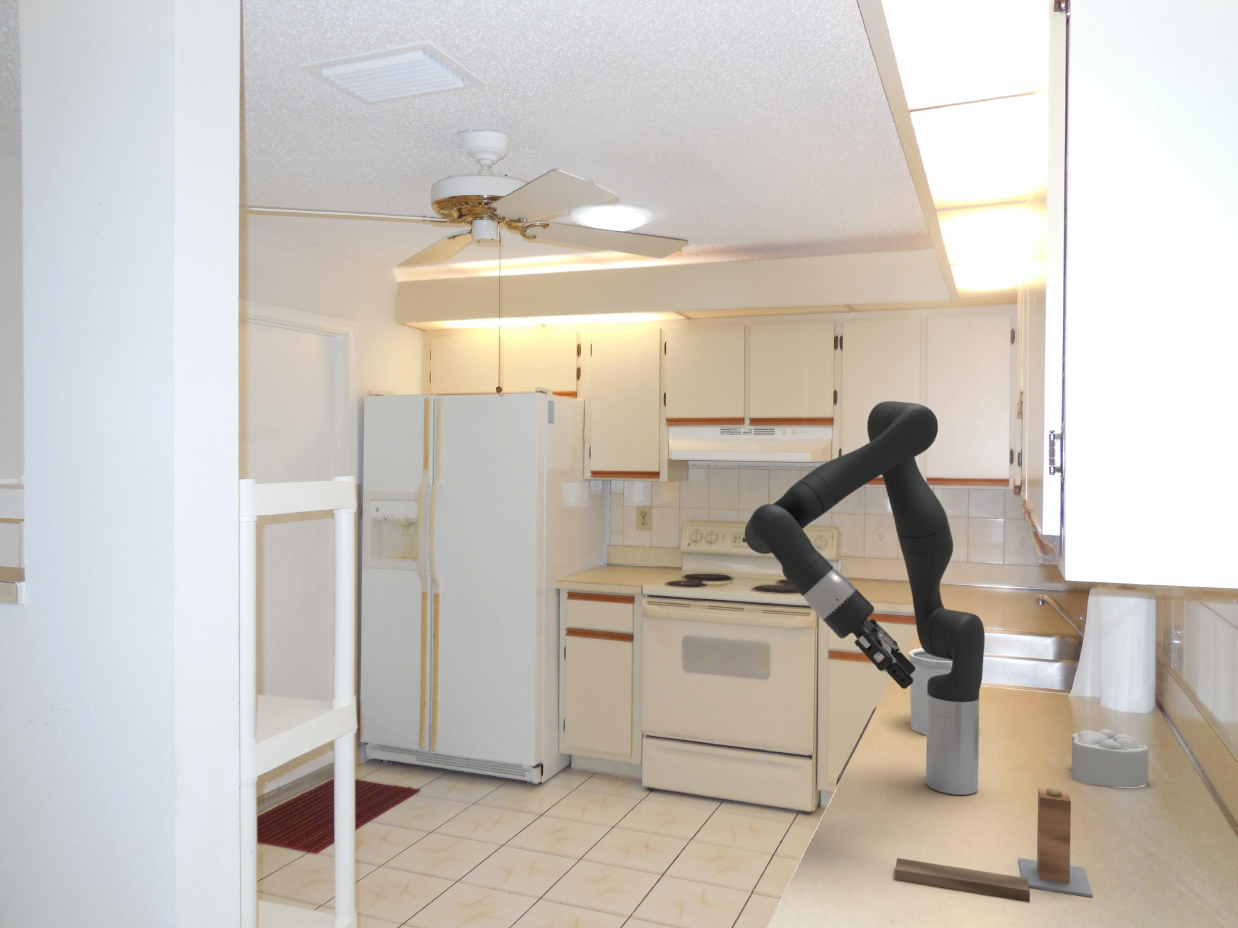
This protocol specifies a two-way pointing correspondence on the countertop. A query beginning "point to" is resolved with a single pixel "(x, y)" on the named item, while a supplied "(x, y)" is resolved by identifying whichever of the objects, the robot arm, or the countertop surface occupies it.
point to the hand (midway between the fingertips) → (910, 678)
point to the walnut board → (962, 879)
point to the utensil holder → (923, 684)
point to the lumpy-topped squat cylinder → (1109, 759)
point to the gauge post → (1053, 835)
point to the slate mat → (1076, 886)
